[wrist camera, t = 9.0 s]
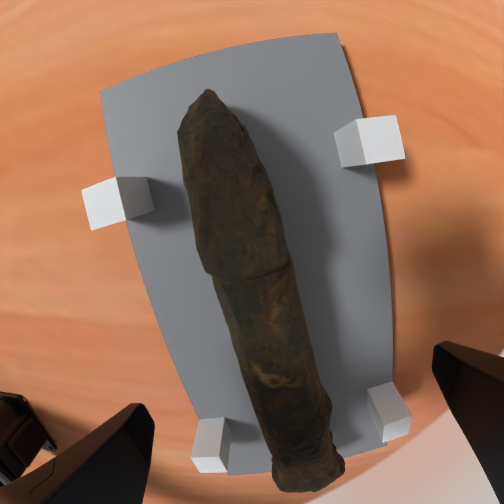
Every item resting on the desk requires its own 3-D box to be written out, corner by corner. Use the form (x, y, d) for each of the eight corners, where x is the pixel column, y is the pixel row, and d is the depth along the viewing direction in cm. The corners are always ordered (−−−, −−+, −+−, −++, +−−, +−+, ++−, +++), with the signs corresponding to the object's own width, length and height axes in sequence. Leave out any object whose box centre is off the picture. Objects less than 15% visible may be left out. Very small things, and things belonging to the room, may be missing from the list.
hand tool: (335, 438, 15) (351, 496, 11) (272, 451, 16) (274, 510, 11) (281, 92, 11) (295, 46, 7) (187, 113, 11) (150, 79, 7)
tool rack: (229, 465, 17) (225, 508, 13) (109, 96, 12) (65, 75, 8) (383, 435, 16) (399, 476, 13) (331, 41, 11) (354, 0, 7)
